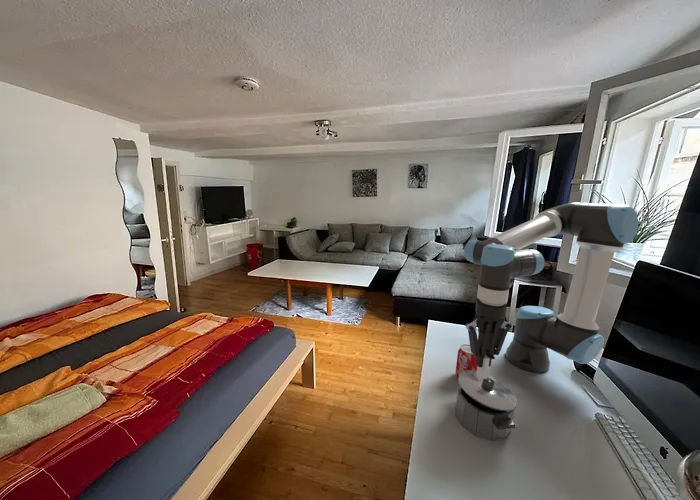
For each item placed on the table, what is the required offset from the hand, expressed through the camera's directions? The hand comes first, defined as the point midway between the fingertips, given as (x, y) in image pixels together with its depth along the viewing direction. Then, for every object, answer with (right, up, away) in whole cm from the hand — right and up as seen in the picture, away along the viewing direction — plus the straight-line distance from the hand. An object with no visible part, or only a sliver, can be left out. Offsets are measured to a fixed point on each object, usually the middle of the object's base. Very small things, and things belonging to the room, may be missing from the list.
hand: (481, 375), depth 81 cm
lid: (+2, -5, +1) cm, 5 cm away
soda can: (+4, -11, +21) cm, 24 cm away
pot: (+1, -14, +3) cm, 15 cm away
